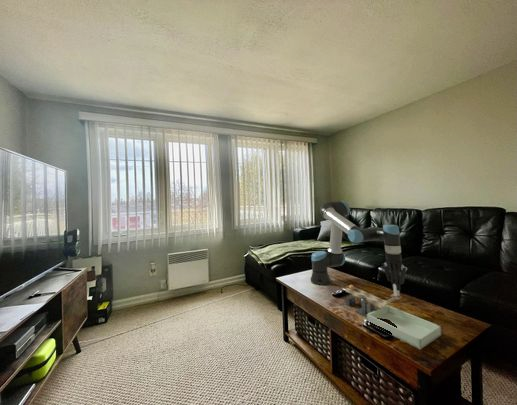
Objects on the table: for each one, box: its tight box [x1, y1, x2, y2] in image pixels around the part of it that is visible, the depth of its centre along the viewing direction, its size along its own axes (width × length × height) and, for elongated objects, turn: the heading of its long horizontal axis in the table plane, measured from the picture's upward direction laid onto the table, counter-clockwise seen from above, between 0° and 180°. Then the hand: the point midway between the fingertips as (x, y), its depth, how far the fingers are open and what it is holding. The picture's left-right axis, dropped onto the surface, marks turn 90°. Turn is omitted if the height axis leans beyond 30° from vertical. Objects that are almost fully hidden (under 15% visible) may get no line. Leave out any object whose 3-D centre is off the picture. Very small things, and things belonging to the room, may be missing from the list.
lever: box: [345, 285, 403, 308], centre depth 120 cm, size 22×18×3 cm
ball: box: [348, 284, 356, 290], centre depth 125 cm, size 3×3×3 cm
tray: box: [365, 304, 442, 350], centre depth 100 cm, size 24×18×4 cm
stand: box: [345, 293, 377, 318], centre depth 119 cm, size 18×10×9 cm, turn 27°
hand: (396, 295), depth 114 cm, fingers closed
